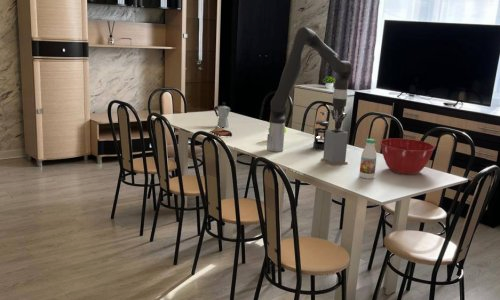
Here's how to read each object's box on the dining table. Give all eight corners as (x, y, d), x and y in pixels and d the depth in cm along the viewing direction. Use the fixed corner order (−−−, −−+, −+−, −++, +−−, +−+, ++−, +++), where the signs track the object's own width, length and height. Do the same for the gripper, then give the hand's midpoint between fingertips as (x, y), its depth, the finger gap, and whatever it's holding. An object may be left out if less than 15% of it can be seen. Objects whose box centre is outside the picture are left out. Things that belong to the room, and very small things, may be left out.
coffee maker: (233, 127, 376) (234, 103, 371) (226, 129, 368) (227, 104, 364) (217, 124, 383) (217, 100, 379) (209, 126, 376) (210, 101, 372)
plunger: (332, 154, 286) (335, 129, 283) (326, 151, 292) (329, 127, 289) (342, 154, 289) (345, 129, 286) (336, 151, 295) (338, 126, 292)
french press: (317, 150, 319) (320, 113, 313) (308, 146, 327) (311, 111, 321) (332, 149, 324) (336, 113, 319) (323, 145, 332) (326, 110, 327)
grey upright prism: (330, 165, 285) (333, 133, 281) (320, 160, 295) (323, 129, 290) (347, 164, 289) (350, 132, 285) (336, 159, 299) (339, 129, 295)
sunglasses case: (207, 131, 354) (212, 123, 355) (214, 136, 359) (219, 128, 359) (221, 137, 340) (226, 128, 341) (229, 141, 345) (233, 133, 345)
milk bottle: (357, 174, 269) (361, 137, 264) (371, 175, 270) (375, 138, 265) (361, 179, 262) (365, 140, 257) (376, 179, 262) (380, 141, 258)
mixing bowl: (406, 181, 262) (410, 151, 258) (366, 167, 285) (369, 140, 282) (442, 175, 277) (446, 147, 273) (401, 162, 300) (404, 136, 297)
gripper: (327, 95, 288) (325, 126, 292) (340, 99, 276) (337, 130, 280) (339, 95, 291) (336, 125, 295) (352, 99, 279) (349, 130, 283)
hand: (337, 128), depth 287 cm, fingers closed
